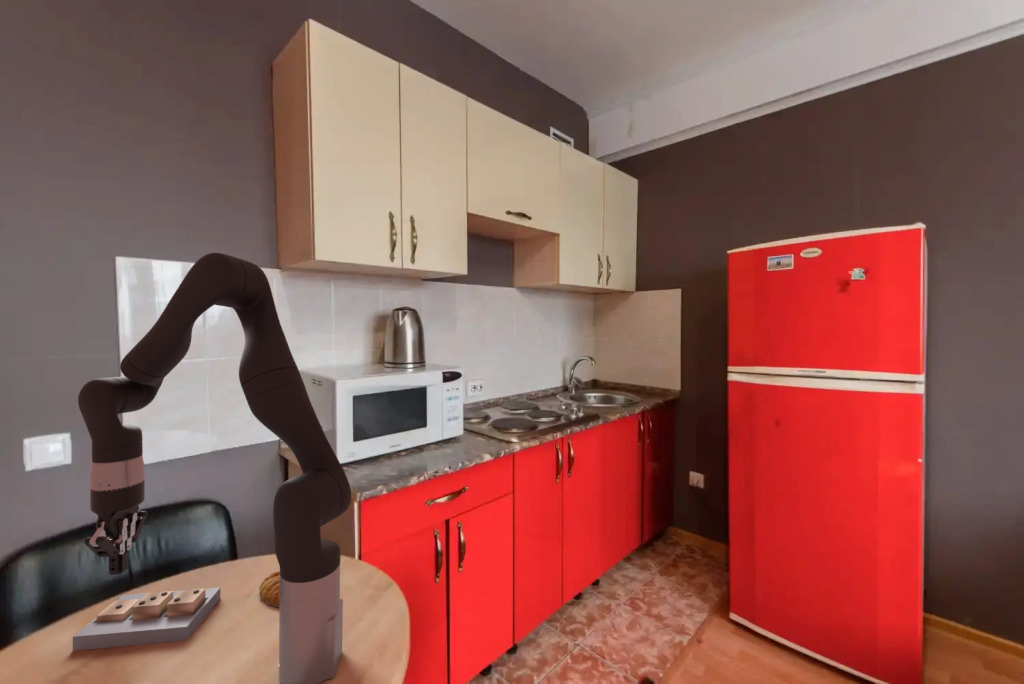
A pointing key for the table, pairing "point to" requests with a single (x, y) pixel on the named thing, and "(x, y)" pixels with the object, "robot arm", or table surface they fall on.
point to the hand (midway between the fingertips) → (118, 572)
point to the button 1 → (117, 611)
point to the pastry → (271, 589)
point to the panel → (144, 627)
